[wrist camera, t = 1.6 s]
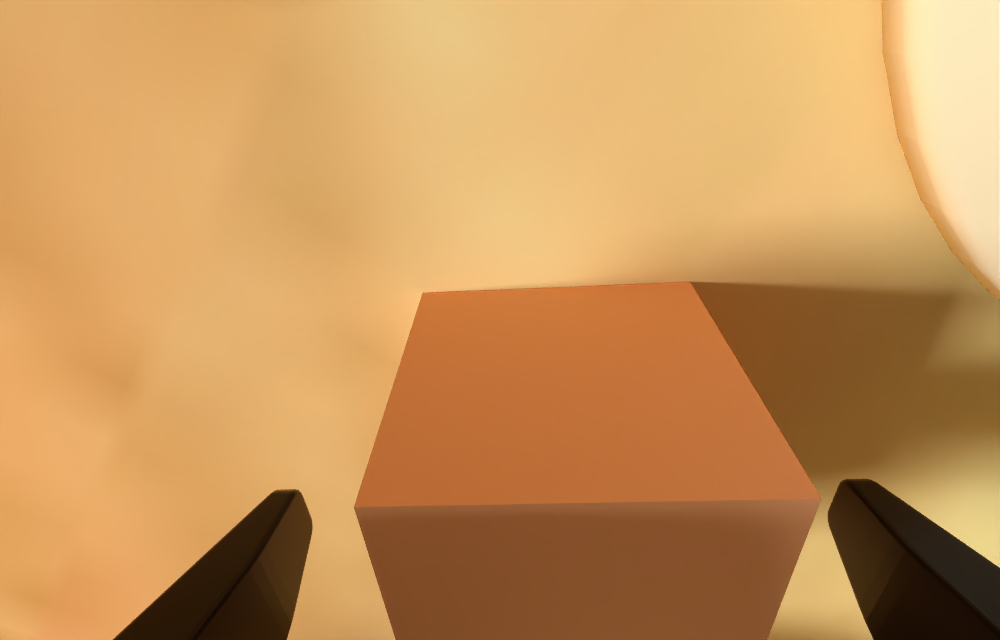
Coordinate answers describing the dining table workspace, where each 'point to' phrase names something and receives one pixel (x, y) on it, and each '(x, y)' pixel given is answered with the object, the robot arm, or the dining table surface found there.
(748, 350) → the dining table surface
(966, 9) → the plate
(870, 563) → the robot arm
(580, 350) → the block
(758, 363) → the dining table surface
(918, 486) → the dining table surface
